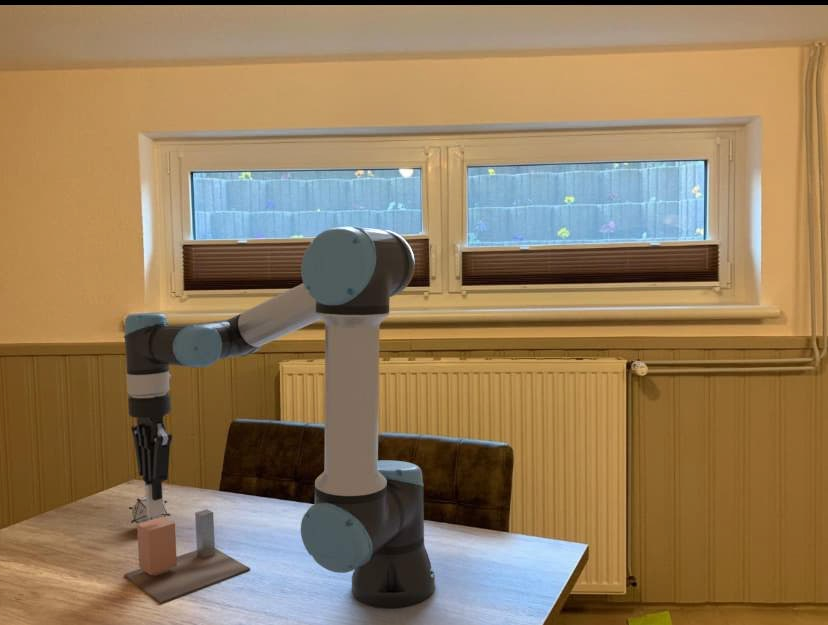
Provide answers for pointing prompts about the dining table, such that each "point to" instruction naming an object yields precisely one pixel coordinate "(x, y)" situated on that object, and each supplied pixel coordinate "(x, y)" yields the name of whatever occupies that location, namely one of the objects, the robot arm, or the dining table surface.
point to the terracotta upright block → (156, 545)
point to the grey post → (205, 534)
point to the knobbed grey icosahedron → (144, 511)
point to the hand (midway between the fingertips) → (155, 514)
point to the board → (187, 575)
